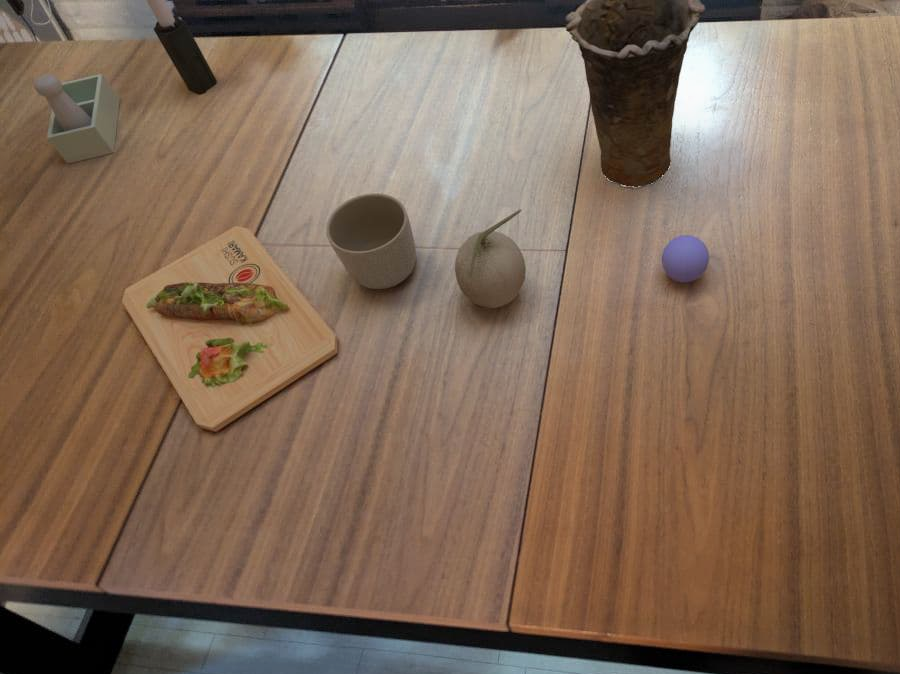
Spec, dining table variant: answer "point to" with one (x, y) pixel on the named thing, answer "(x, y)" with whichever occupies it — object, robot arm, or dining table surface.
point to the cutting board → (228, 327)
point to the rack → (102, 131)
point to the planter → (373, 240)
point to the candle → (182, 48)
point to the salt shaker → (61, 103)
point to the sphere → (685, 258)
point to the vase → (633, 79)
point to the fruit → (490, 267)
